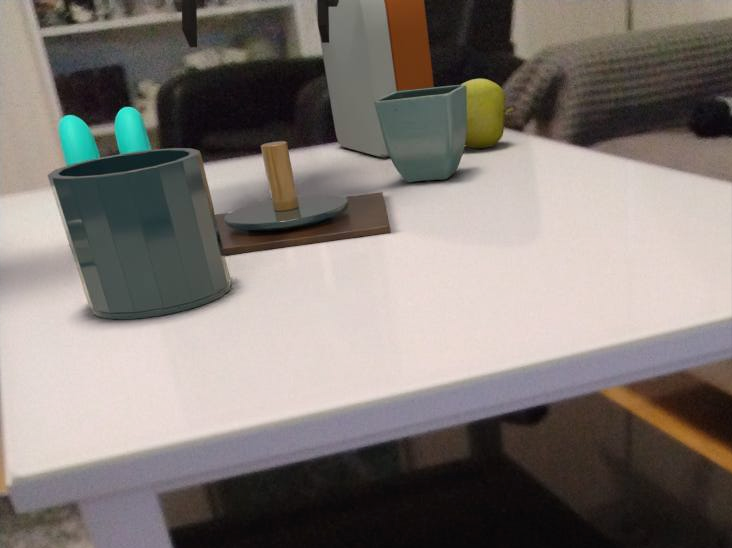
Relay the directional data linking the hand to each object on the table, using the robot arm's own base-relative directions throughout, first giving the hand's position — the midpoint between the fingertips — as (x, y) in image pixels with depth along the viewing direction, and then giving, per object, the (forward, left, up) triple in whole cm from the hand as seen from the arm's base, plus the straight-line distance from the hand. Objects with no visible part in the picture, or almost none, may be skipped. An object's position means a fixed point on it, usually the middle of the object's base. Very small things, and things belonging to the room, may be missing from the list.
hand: (256, 36), depth 103 cm
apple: (+24, +24, -17) cm, 38 cm away
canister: (-10, -32, -16) cm, 37 cm away
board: (0, -10, -16) cm, 19 cm away
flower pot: (+16, +7, -17) cm, 24 cm away
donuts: (-23, +23, -17) cm, 37 cm away
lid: (0, -10, -15) cm, 18 cm away
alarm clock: (+12, +35, -17) cm, 41 cm away
